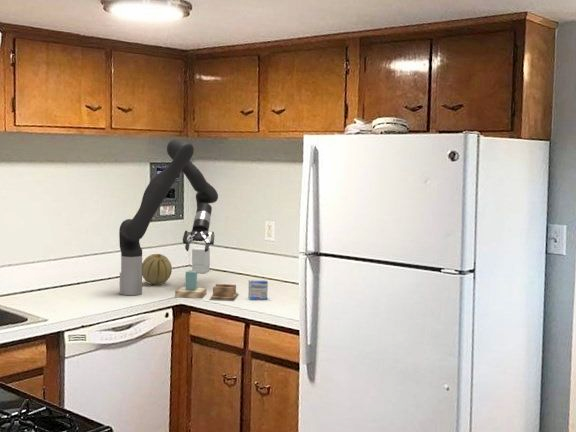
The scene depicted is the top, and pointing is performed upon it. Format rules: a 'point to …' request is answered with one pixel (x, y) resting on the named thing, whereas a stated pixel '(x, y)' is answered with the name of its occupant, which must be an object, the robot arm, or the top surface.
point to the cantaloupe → (156, 269)
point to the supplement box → (200, 260)
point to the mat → (224, 300)
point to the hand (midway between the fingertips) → (196, 250)
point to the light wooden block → (190, 293)
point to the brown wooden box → (224, 292)
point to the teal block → (191, 280)
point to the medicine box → (258, 289)
